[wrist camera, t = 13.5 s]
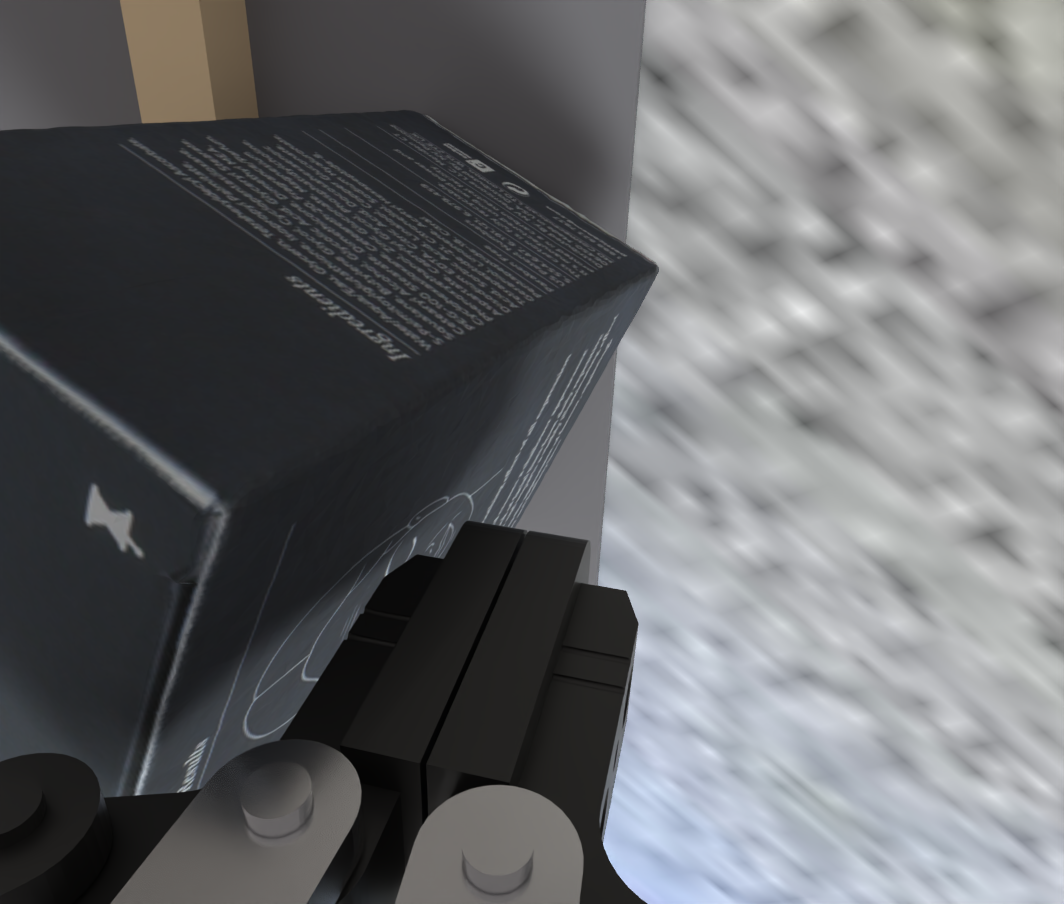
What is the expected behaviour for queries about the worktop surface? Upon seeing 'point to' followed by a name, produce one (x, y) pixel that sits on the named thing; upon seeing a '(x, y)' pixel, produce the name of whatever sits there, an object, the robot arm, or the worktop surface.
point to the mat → (371, 110)
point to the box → (260, 408)
